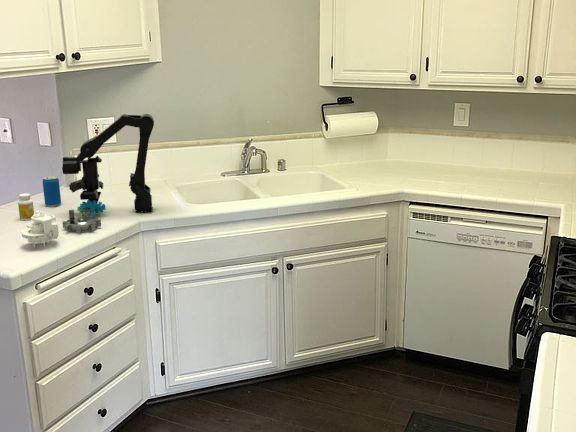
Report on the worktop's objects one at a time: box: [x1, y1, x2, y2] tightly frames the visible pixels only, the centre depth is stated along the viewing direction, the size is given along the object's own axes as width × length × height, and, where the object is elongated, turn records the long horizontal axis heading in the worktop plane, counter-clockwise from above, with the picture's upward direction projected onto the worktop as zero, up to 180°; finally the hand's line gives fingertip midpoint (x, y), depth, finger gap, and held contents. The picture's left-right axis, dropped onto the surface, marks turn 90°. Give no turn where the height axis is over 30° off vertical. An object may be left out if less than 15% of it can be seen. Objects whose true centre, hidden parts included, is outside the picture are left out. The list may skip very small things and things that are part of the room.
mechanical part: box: [20, 209, 60, 248], centre depth 225 cm, size 11×12×12 cm
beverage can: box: [42, 175, 62, 208], centre depth 272 cm, size 6×6×12 cm
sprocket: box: [62, 209, 102, 233], centre depth 242 cm, size 14×14×8 cm
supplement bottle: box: [17, 193, 35, 221], centre depth 254 cm, size 5×5×10 cm
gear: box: [76, 200, 106, 217], centre depth 257 cm, size 11×6×10 cm
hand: (93, 210), depth 262 cm, fingers closed
